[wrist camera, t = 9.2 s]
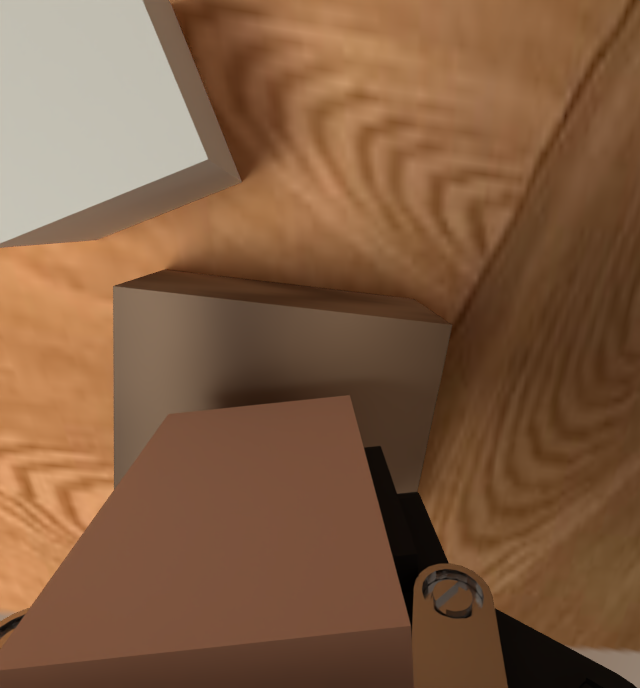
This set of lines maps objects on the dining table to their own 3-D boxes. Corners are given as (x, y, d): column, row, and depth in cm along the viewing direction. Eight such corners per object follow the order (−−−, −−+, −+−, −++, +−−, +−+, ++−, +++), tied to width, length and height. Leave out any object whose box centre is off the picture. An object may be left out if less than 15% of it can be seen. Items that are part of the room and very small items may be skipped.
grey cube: (171, 5, 15) (85, -139, 9) (242, 182, 16) (208, 158, 10) (14, 73, 15) (-170, -22, 9) (98, 240, 16) (-13, 248, 11)
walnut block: (412, 297, 18) (452, 325, 13) (374, 504, 20) (396, 591, 16) (166, 268, 17) (113, 286, 12) (160, 486, 20) (114, 571, 15)
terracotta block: (349, 394, 12) (410, 625, 5) (362, 545, 13) (423, 885, 6) (167, 414, 12) (-16, 672, 5) (199, 563, 13) (89, 923, 6)
